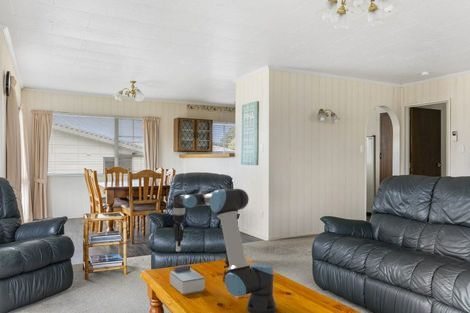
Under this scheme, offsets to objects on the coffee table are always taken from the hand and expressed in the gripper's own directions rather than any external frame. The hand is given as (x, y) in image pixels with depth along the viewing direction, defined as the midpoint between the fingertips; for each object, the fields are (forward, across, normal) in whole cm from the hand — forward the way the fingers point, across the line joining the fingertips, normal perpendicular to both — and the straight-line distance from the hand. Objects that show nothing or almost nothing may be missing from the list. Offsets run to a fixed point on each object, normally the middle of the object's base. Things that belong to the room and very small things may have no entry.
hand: (178, 250), depth 231 cm
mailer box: (+19, +14, 0) cm, 24 cm away
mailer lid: (+11, +14, 0) cm, 18 cm away
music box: (+19, +16, +31) cm, 40 cm away
